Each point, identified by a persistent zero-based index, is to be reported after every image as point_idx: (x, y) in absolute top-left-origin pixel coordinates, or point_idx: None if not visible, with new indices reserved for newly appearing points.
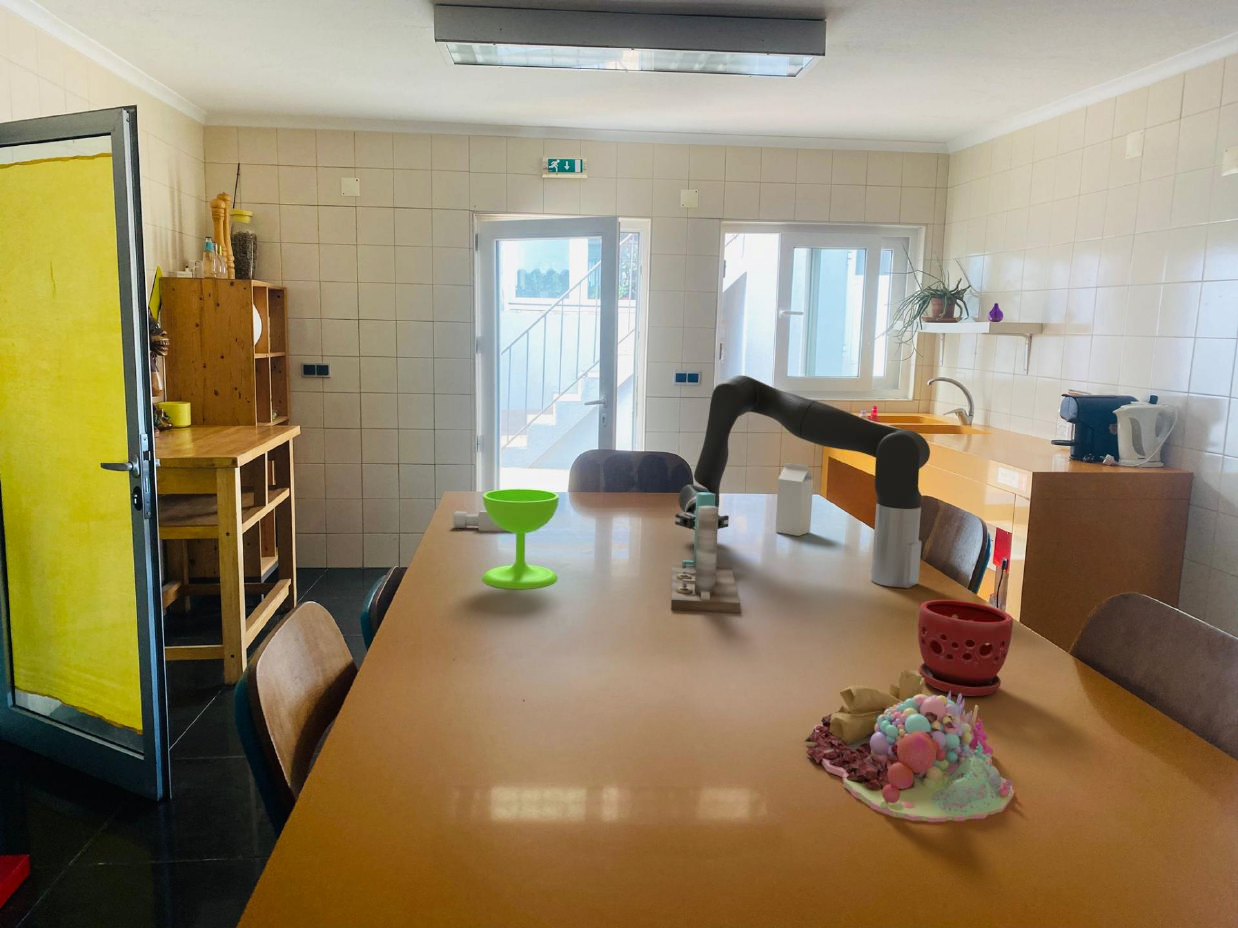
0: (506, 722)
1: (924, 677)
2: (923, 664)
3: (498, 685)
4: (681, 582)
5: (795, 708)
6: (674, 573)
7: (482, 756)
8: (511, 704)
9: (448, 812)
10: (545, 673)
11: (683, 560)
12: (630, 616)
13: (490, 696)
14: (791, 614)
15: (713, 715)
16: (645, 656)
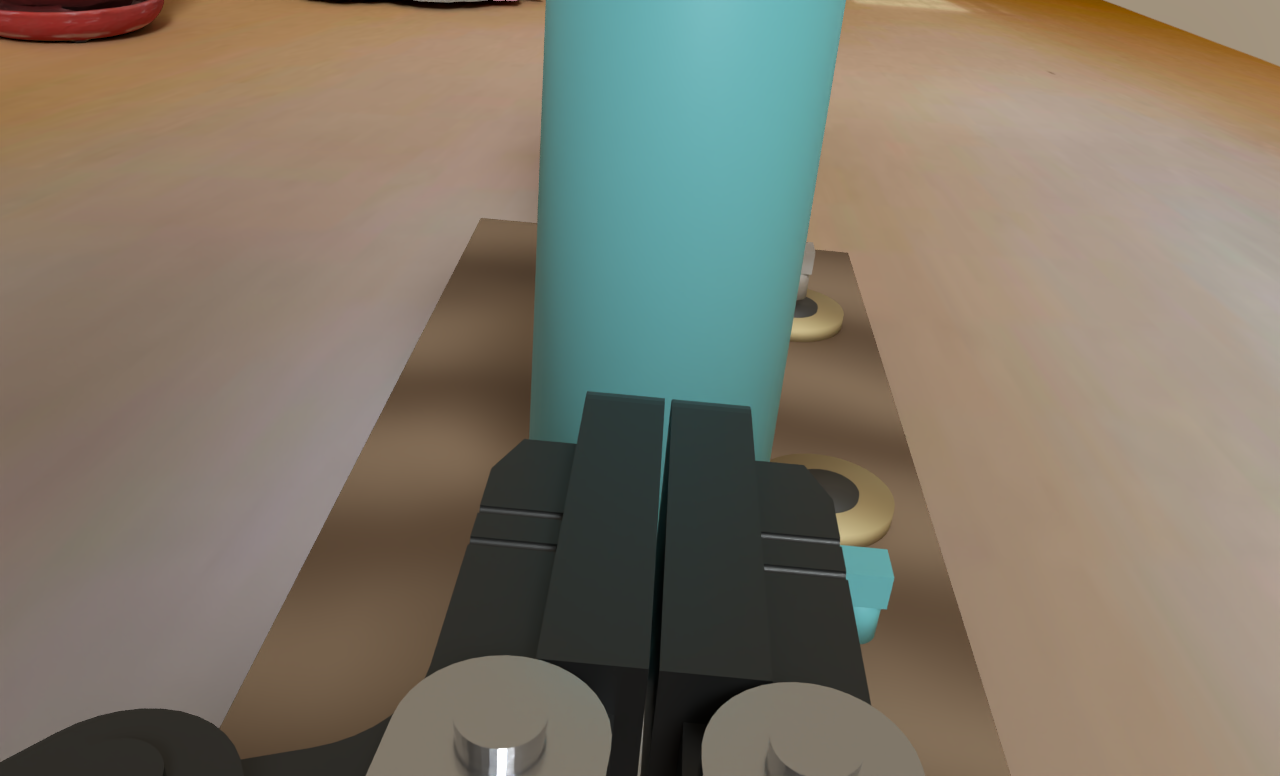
0: (1038, 52)
1: (162, 4)
2: (111, 8)
3: (1137, 94)
4: (827, 426)
5: (519, 29)
6: (933, 606)
7: (1019, 29)
8: (1064, 69)
9: (993, 4)
10: (1072, 107)
11: (880, 576)
12: (1009, 269)
13: (1122, 81)
14: (200, 253)
15: None
16: (858, 125)
